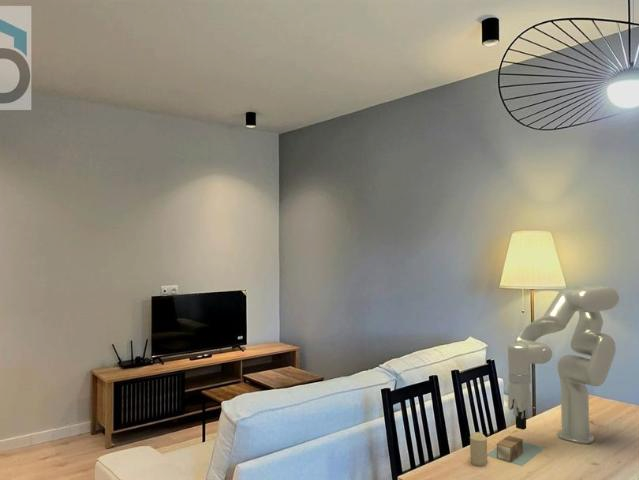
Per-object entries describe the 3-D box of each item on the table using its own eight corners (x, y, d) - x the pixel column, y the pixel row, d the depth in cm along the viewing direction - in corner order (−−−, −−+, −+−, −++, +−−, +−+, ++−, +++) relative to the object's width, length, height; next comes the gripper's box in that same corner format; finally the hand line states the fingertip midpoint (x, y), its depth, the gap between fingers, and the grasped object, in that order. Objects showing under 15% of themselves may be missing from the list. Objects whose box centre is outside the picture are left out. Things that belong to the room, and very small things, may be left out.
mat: (510, 439, 188) (510, 438, 188) (545, 449, 179) (545, 447, 179) (485, 456, 173) (485, 455, 173) (522, 468, 164) (522, 466, 164)
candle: (488, 466, 165) (487, 436, 165) (471, 465, 166) (470, 435, 166) (486, 459, 170) (485, 431, 171) (469, 458, 172) (469, 430, 172)
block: (508, 435, 178) (496, 443, 171) (522, 439, 174) (510, 447, 167) (509, 449, 178) (496, 458, 170) (522, 453, 174) (511, 462, 167)
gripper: (517, 372, 187) (519, 420, 187) (500, 380, 177) (502, 431, 176) (537, 375, 182) (539, 425, 182) (521, 384, 172) (523, 436, 171)
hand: (521, 428), depth 179 cm, fingers closed
